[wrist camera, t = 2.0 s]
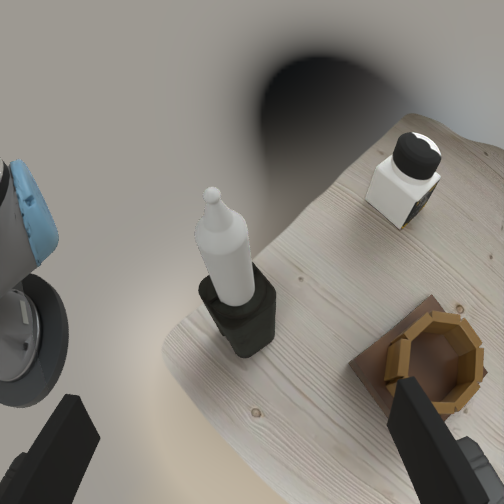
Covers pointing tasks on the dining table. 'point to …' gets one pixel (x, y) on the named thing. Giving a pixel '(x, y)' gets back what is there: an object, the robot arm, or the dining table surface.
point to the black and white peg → (233, 279)
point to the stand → (425, 359)
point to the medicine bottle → (405, 179)
